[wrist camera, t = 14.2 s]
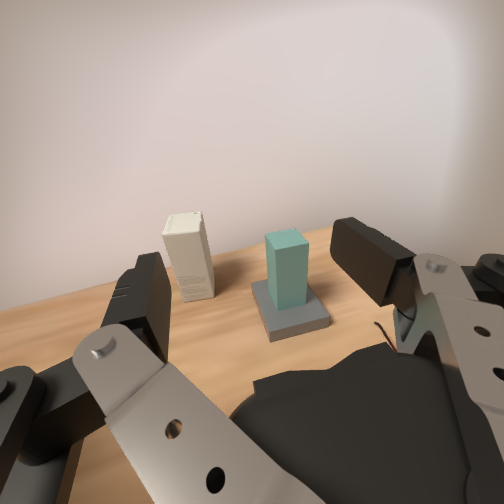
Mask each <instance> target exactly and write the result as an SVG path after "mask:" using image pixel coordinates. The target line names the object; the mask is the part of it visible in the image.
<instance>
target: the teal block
mask: <svg viewBox="0 0 504 504" xmlns="http://www.w3.org/2000/svg"><path fill="white" fill-rule="evenodd" d="M265 242H266V258H267V273H268V289H269V294H270V296H271V298H272V300H273V302H274V305H275V307H276V309H277V311H281V310H285V309H289V308H293V307H297V306H301V305H305V304H306V292H307V273H308V254H309V242H308V241H307V240H306V239H305V238H304V237H303V236H302V235H301V234H300V233H299V232H298V231H297V230H296V229H295V228H294V229H289V230H283V231H278V232H273V233H268V234H265Z"/></svg>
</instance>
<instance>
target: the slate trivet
mask: <svg viewBox="0 0 504 504" xmlns="http://www.w3.org/2000/svg"><path fill="white" fill-rule="evenodd" d="M251 286H252V293H253V296H254V299H255V302H256V304H257V307H258V310H259V313H260V316H261V318H262V321H263V324H264V327H265V330H266V332H267V335H268V338H269V341H270V342H273V341H277V340H281V339H285V338H288V337H292V336H296V335H300V334H303V333H307V332H311V331H314V330H318V329H322V328H326V327H329V320H330V315H329V314H328V312H327V311H326V310H325V308H324V307H323V305H322V304H321V302H320V301H319V300H318V298H317V297H316V295H315V294H314V292H313V291H312V290H311V288H310V287H309V285H308V284H307V292H306V304H305V305H301V306H297V307H293V308H289V309H285V310H281V311H277V309H276V307H275V305H274V302H273V300H272V298H271V296H270V294H269V289H268V279H267V280H262V281H258V282H253V283H251Z"/></svg>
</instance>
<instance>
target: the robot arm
mask: <svg viewBox="0 0 504 504" xmlns="http://www.w3.org/2000/svg"><path fill="white" fill-rule="evenodd" d="M330 253H331V256H332V259H333V260H334V261H335V262H336V263H337V264H338V265H339V266H340V267H341V268H342V269H343V270H344V271H345V272H346V273H347V274H348V275H349V276H350V277H351V278H352V279H353V280H354V281H355V282H356V283H357V284H358V285H359V286H360V287H361V288H362V289H363V290H364V291H365V292H366V293H367V294H368V295H369V296H370V297H371V298H372V299H373V300H374V301H375V302H376V303H377V304H378V305H379V306H380V307H382V306H386V305H390V304H394V305H395V308H394V310H393V318H394V326H395V335H396V344H397V352H394V350H393V349H392V348H391V347H390V346H389V345H388V344H387V342H383V343H380V344H377V345H373V346H370V347H367V348H363V349H360V350H357V351H355V352H353V353H352V354H350V355H349V356H348V357H346V358H345V359H343V360H342V361H340V362H339V363H337V364H336V365H335V366H333V367H332V368H330V369H327V370H300V371H286V372H283V373H279V374H276V375H273V376H269V377H266V378H263V379H259V380H256V381H253V385H254V394H252V395H251V396H249V397H248V398H247V399H246V400H244V401H243V402H242V403H241V404H240V405H239V406H238V407H237V408H236V409H235V410H234V411H233V413H232V414H231V415H230V417H229V418H228V417H227V416H226V415H225V414H224V413H223V412H222V411H221V410H220V409H219V408H218V407H217V406H216V405H215V404H214V403H213V402H212V401H210V400H209V399H208V398H207V397H206V396H205V395H204V394H203V393H202V392H201V391H200V390H199V389H198V388H197V387H196V386H195V385H194V384H193V383H192V382H191V381H190V380H189V379H187V378H186V377H185V376H184V375H183V374H182V373H181V372H180V371H179V370H178V369H177V368H176V367H175V366H174V365H173V364H171V363H170V362H167V360H168V344H169V328H170V312H171V295H172V293H171V285H170V281H169V278H168V275H167V272H166V269H165V267H164V264H163V261H162V258H161V255H160V253H159V252H154V253H149V254H143V255H139V256H138V259H137V263H136V266H135V268H133V269H129V270H127V271H126V272H125V273H124V274H123V275H122V276H121V277H120V278H119V279H118V282H117V285H116V287H115V290H114V293H113V295H112V298H111V300H110V303H109V306H108V308H107V311H106V314H105V316H104V319H103V322H102V324H101V327H100V328H99V329H97V330H95V331H94V332H92V333H91V334H89V335H88V336H87V337H86V338H84V339H83V340H82V341H81V342H80V344H79V345H78V346H77V348H76V349H75V351H74V354H73V357H71V358H69V359H67V360H65V361H63V362H61V363H59V364H57V365H55V366H52V367H50V368H48V369H46V370H44V371H42V372H40V373H38V374H36V373H35V372H34V371H33V370H32V369H31V368H30V367H27V366H16V367H12V368H9V369H6V370H3V371H1V372H0V504H68V501H69V497H70V493H71V489H72V485H73V481H74V477H75V473H76V469H77V465H78V461H79V457H80V453H81V449H82V445H83V441H84V437H86V436H87V435H89V434H91V433H92V432H94V431H95V430H97V429H99V428H100V427H102V426H103V425H105V424H107V426H108V427H109V429H110V431H111V432H112V434H113V436H114V437H115V439H116V441H117V442H118V444H119V446H120V447H121V449H122V450H123V452H124V454H125V455H126V457H127V459H128V460H129V462H130V464H131V465H132V467H133V468H134V470H135V472H136V473H137V475H138V477H139V478H140V480H141V482H142V483H143V485H144V487H145V488H146V490H147V491H148V493H149V495H150V496H151V498H152V500H153V501H154V503H155V504H504V255H500V254H484V255H482V256H481V257H480V258H479V260H478V262H477V263H476V265H475V266H459V265H458V264H457V263H456V262H454V261H452V260H450V259H448V258H446V257H443V256H439V255H435V254H419V255H416V254H414V253H413V252H411V251H410V250H408V249H407V248H405V247H403V246H402V245H400V244H399V243H397V242H395V241H394V240H391V239H390V238H389V237H387V236H384V234H382V233H381V232H379V231H378V230H376V229H374V228H371V227H368V226H366V225H365V224H363V223H362V222H360V221H358V220H357V219H355V218H353V217H349V218H344V219H338V220H336V221H335V222H334V225H333V231H332V238H331V245H330ZM164 363H165V364H164Z"/></svg>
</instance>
